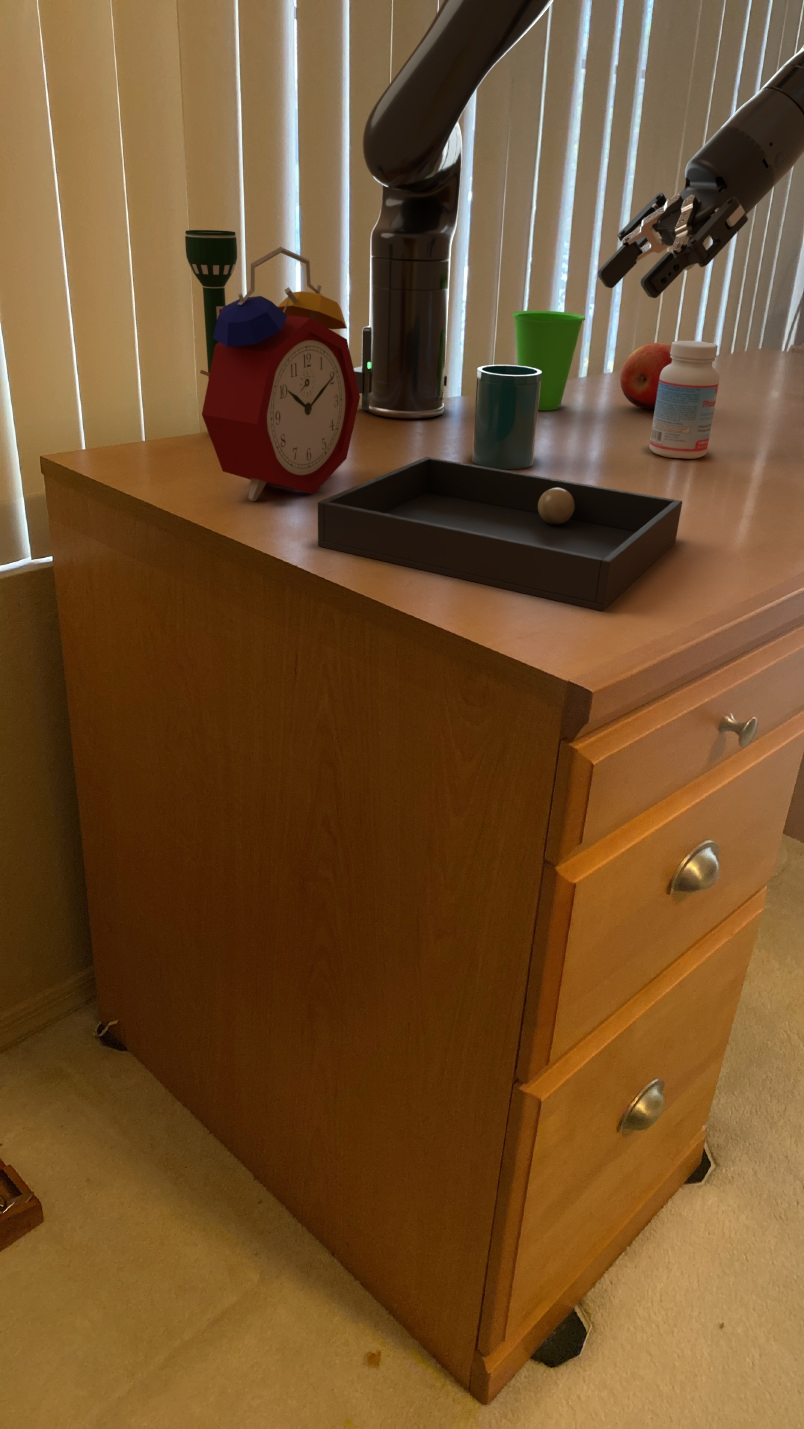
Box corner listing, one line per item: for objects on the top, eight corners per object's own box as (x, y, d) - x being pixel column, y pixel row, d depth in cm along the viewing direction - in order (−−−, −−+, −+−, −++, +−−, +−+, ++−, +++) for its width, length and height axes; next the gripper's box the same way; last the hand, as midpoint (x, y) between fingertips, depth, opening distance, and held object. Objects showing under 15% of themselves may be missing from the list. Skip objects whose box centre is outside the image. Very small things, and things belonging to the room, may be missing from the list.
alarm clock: (262, 514, 82) (252, 252, 73) (186, 496, 86) (166, 245, 77) (361, 477, 94) (363, 245, 84) (289, 462, 97) (283, 240, 88)
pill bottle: (707, 462, 103) (728, 349, 98) (648, 457, 104) (665, 345, 99) (704, 448, 108) (723, 341, 103) (647, 444, 109) (664, 337, 104)
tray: (317, 546, 76) (317, 501, 74) (424, 495, 89) (426, 456, 87) (602, 611, 66) (609, 562, 64) (675, 543, 79) (682, 500, 77)
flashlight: (214, 442, 104) (201, 233, 94) (189, 433, 107) (174, 229, 98) (254, 435, 107) (246, 232, 97) (229, 427, 110) (218, 229, 101)
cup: (580, 403, 129) (591, 313, 123) (567, 416, 121) (578, 321, 116) (513, 396, 131) (521, 308, 126) (497, 409, 124) (504, 316, 118)
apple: (694, 411, 127) (705, 345, 123) (650, 417, 122) (660, 349, 118) (648, 400, 132) (657, 337, 128) (604, 405, 128) (612, 340, 124)
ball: (557, 523, 83) (586, 510, 81) (541, 535, 80) (571, 521, 78) (541, 491, 82) (570, 477, 80) (525, 502, 80) (554, 487, 78)
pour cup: (461, 463, 99) (466, 370, 95) (488, 451, 104) (494, 362, 100) (517, 472, 97) (526, 378, 92) (542, 460, 102) (551, 369, 97)
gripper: (687, 125, 98) (570, 250, 100) (776, 120, 86) (641, 262, 88) (722, 187, 102) (609, 306, 104) (812, 191, 90) (682, 325, 92)
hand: (624, 286), depth 96 cm, fingers open, 8 cm apart
